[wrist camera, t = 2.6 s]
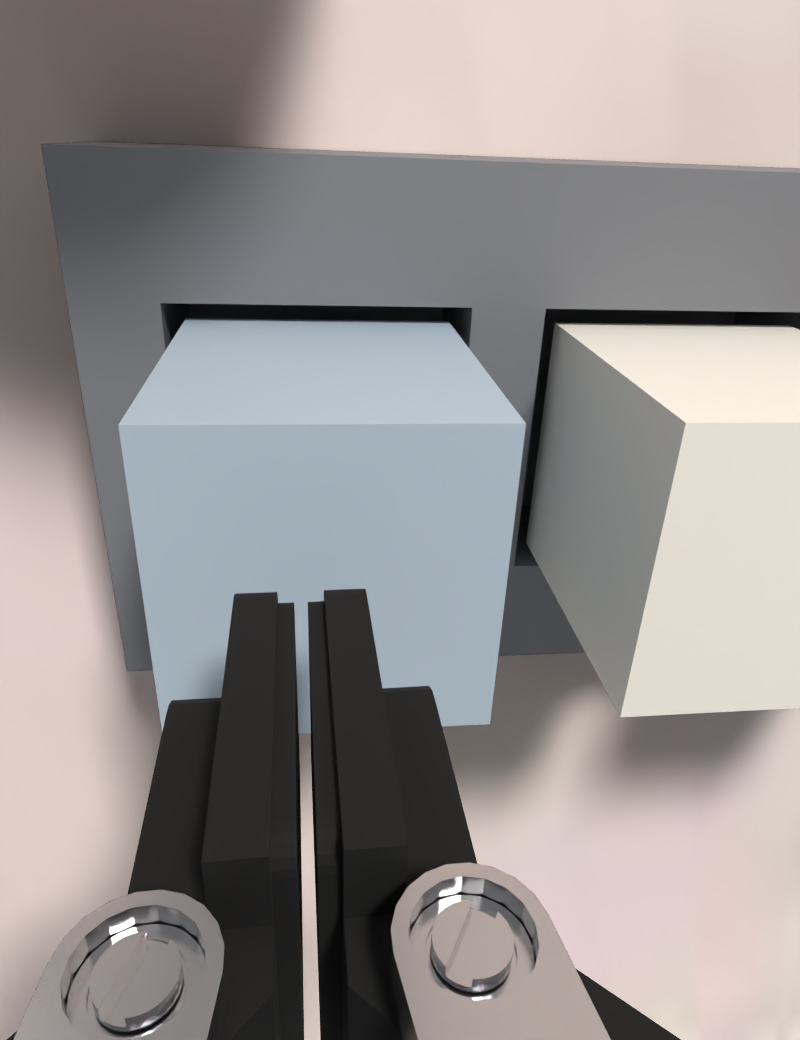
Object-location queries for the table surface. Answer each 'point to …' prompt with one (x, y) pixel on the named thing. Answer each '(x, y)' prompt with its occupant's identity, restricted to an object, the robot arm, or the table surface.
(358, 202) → the console
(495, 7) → the table surface
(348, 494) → the key blue
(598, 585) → the key ivory
